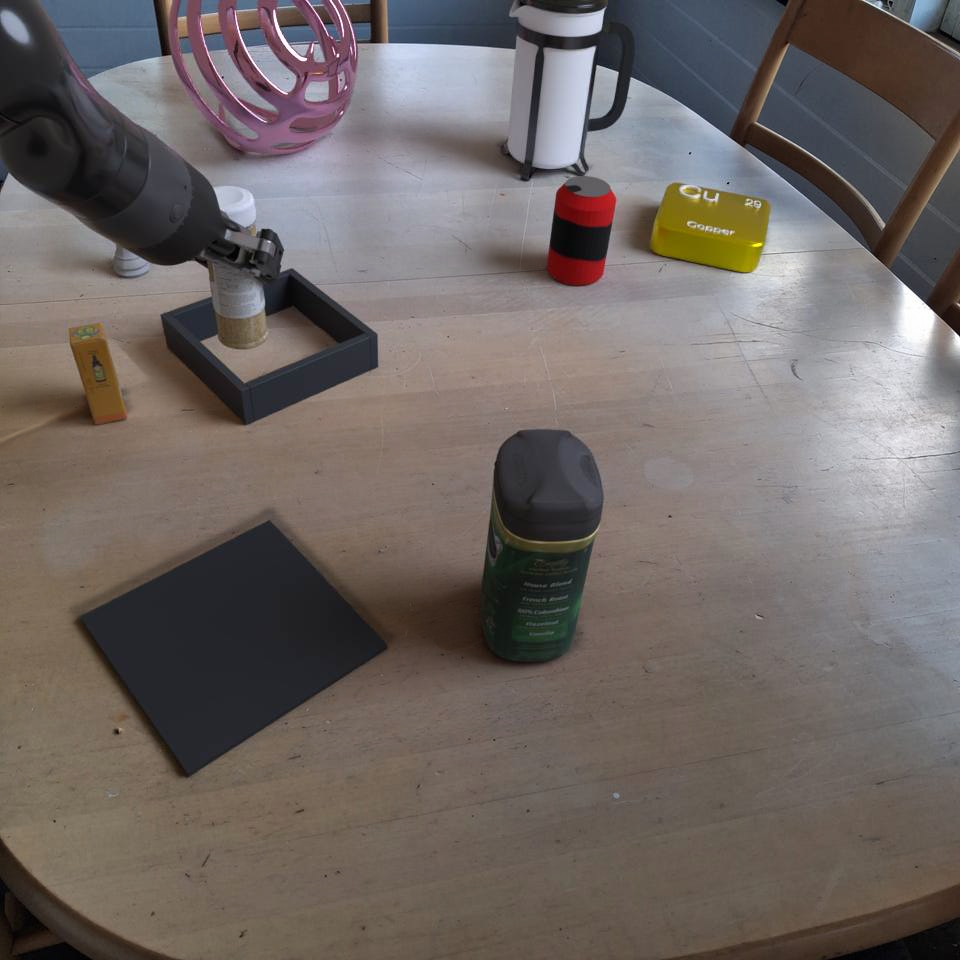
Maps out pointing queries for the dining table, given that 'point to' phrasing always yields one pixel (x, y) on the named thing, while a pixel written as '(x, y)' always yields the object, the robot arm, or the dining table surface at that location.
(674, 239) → the element tile
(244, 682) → the mat
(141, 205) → the robot arm
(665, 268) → the dining table surface
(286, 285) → the dark grey square frame
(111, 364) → the supplement box
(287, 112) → the spiral basket
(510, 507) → the coffee jar
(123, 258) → the rook chess piece
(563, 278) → the soda can
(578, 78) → the coffee press
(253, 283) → the sprinkles bottle
